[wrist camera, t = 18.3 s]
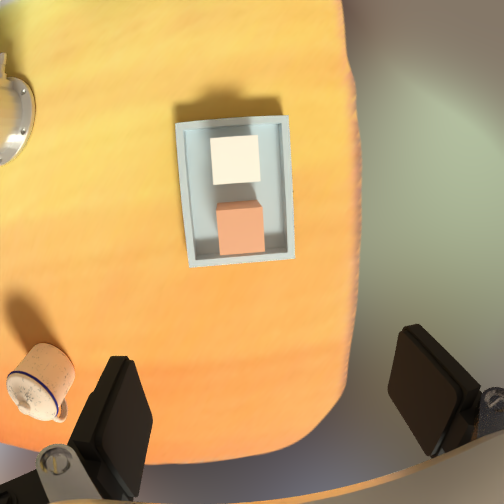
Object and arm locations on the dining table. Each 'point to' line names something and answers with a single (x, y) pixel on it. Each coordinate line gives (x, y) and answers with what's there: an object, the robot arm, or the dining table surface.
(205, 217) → the tray
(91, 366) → the dining table surface
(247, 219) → the terracotta block
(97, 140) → the dining table surface
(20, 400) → the teacup with lid
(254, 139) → the white block
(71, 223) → the dining table surface
